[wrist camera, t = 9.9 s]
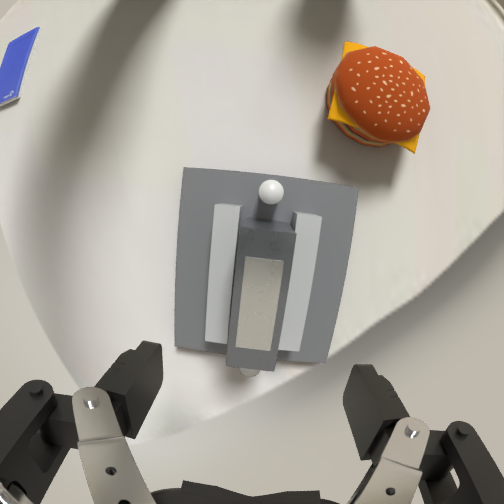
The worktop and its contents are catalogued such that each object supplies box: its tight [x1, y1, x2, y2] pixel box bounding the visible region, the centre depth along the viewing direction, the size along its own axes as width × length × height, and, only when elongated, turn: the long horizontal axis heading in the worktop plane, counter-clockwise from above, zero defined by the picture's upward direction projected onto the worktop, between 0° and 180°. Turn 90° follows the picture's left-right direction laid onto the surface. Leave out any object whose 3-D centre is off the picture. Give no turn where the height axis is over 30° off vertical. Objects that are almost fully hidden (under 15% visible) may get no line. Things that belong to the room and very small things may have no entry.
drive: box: [226, 217, 297, 371], centre depth 22 cm, size 10×4×8 cm, turn 173°
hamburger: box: [327, 41, 430, 154], centre depth 21 cm, size 9×10×7 cm
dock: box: [175, 167, 359, 377], centre depth 25 cm, size 18×16×6 cm
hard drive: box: [0, 27, 41, 107], centre depth 23 cm, size 2×8×12 cm
